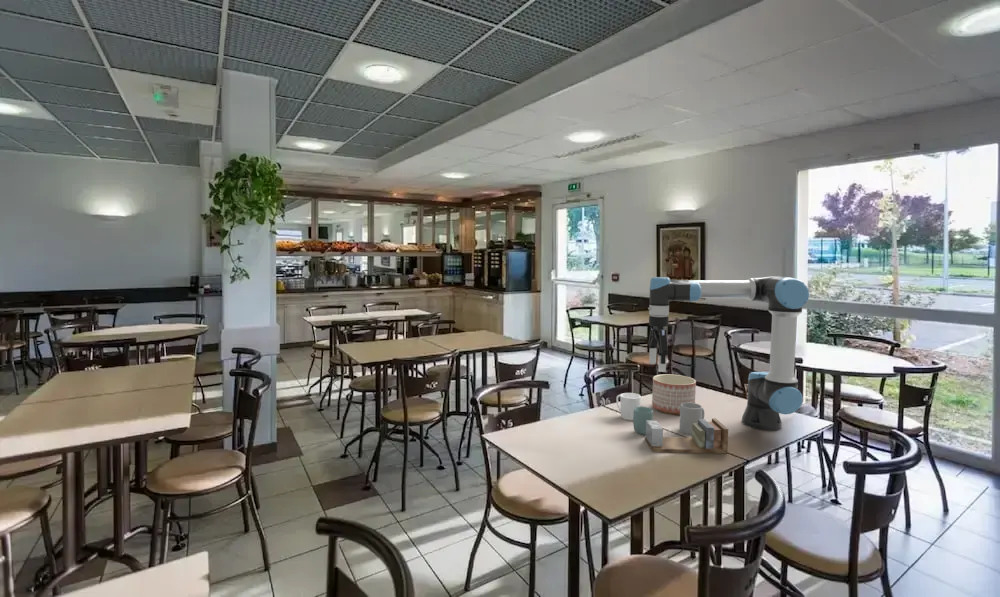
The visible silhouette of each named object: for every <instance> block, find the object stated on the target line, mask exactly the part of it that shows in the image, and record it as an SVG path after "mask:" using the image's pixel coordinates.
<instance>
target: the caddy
mask: <svg viewBox="0 0 1000 597" xmlns="http://www.w3.org/2000/svg"><path fill="white" fill-rule="evenodd" d="M644 441H645V442H646V444H647V445H648V447H649V449H650V450H651V451H652V452H651V453H684V454H687V453H691V454H692V453H693V454H697V453H698V454H700V453H701V454H728V450H729V428H728V427H727V426H725V425H724V424H723V423H722V422H721V421H719V420H718V419H717V418H715V417H714V418H711V421H707V420H706V419H705V418H704V419H698V424H697V423H693V426H692V434H691V437H683V436H682V437H678V436H677V437H675V436H663V447H652V446H651V445H650V443H649V442H648V440H647V439H646V436H644Z"/></svg>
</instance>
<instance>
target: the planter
mask: <svg viewBox="0 0 1000 597" xmlns="http://www.w3.org/2000/svg"><path fill="white" fill-rule="evenodd" d="M696 388H697V380H696V379H695V378H692V377H690V376H686V375H680V374H670V373H667V374H666V373H665V374H664V373H663V374H656V375H654V376H653V377H652V398H651V399H652V400H651V403H652V404H651V405H652V407H653V408H654V409H655V410H657V411H658V412H660V413H663V414H666V415H673V416H680V405H681V404H682V403H696V395H697V394H696V392H697V391H696V390H697V389H696Z"/></svg>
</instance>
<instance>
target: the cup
mask: <svg viewBox="0 0 1000 597" xmlns="http://www.w3.org/2000/svg"><path fill="white" fill-rule="evenodd" d="M646 420H651V421H654V409H653V408H651V407H647V406H640V407H635V408H634V410H633V421H632V424H633V425H632V426H633V429H634V432H636V433H637V434H639V435H643V436H646Z"/></svg>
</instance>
